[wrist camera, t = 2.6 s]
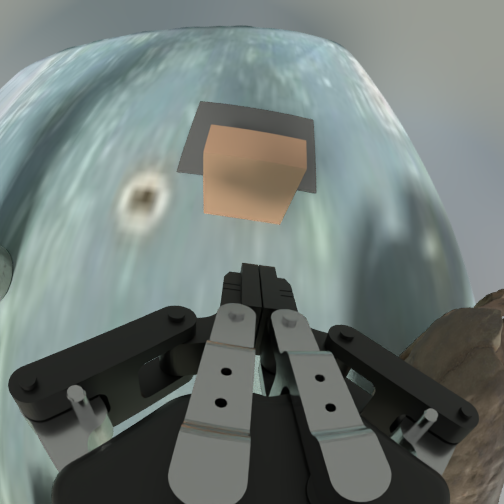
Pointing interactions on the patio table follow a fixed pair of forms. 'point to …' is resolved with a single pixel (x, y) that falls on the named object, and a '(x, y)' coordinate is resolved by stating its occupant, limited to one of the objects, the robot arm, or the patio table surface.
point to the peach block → (251, 173)
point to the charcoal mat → (252, 121)
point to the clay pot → (470, 392)
